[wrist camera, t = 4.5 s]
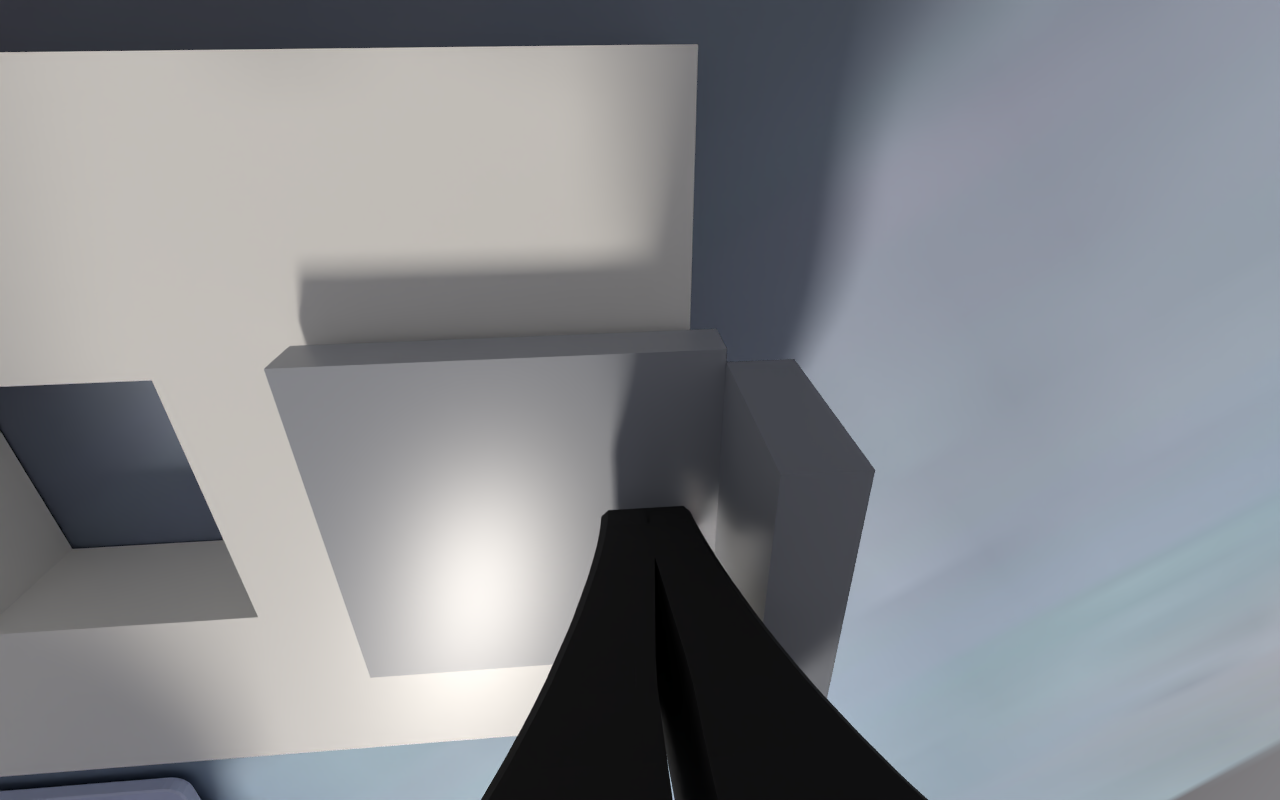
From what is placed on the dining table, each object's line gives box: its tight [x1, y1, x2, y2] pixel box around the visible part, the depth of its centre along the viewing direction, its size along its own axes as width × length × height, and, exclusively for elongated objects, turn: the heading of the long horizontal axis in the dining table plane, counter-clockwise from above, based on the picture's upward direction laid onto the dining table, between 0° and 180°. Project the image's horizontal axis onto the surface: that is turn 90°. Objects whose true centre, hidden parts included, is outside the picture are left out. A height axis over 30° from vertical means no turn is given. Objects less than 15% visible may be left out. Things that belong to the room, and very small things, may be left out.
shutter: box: [264, 329, 875, 698], centre depth 9 cm, size 6×7×4 cm
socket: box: [0, 44, 698, 777], centre depth 12 cm, size 14×16×2 cm
